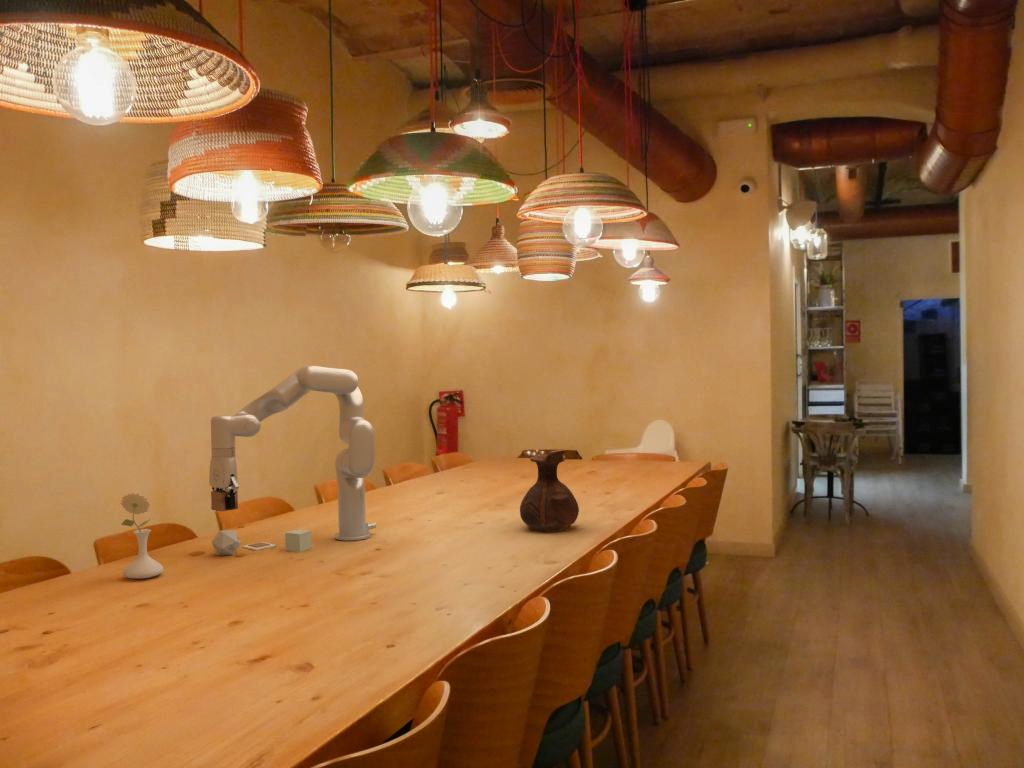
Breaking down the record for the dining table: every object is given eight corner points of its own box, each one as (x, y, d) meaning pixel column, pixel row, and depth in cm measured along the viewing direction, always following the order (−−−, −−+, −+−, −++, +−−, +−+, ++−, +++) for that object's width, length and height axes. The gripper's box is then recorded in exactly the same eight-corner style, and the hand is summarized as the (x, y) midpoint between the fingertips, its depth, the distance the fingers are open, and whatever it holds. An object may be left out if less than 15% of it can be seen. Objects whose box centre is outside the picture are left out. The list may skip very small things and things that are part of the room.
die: (224, 560, 287) (242, 534, 290) (202, 547, 289) (220, 521, 291) (231, 563, 295) (249, 538, 298) (210, 550, 296) (228, 525, 299)
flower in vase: (172, 573, 268) (169, 491, 268) (145, 583, 258) (142, 497, 257) (137, 570, 273) (134, 489, 272) (109, 580, 262) (106, 495, 261)
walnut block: (227, 507, 297) (227, 489, 297) (237, 508, 293) (237, 490, 293) (211, 509, 292) (211, 491, 292) (221, 511, 288) (221, 493, 288)
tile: (262, 543, 309) (262, 541, 309) (276, 546, 304) (276, 544, 304) (242, 547, 303) (242, 545, 303) (255, 550, 298) (255, 548, 298)
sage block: (297, 546, 303) (296, 529, 303) (311, 548, 301) (310, 530, 300) (285, 550, 298) (285, 532, 298) (299, 552, 295) (299, 534, 295)
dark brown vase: (510, 532, 320) (508, 449, 319) (531, 521, 340) (530, 443, 339) (568, 536, 312) (566, 450, 311) (586, 524, 332) (585, 444, 331)
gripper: (199, 452, 295) (200, 506, 295) (227, 455, 284) (228, 512, 284) (219, 450, 301) (220, 503, 301) (248, 453, 289) (249, 508, 290)
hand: (224, 507), depth 293 cm, fingers closed on walnut block, 6 cm apart
